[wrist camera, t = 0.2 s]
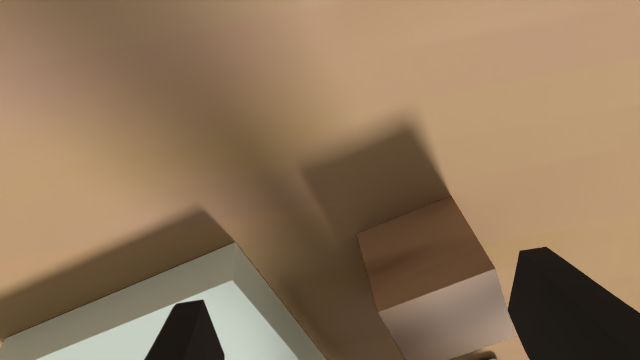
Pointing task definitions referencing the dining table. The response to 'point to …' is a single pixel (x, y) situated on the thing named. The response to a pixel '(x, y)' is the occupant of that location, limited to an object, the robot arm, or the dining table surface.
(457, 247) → the walnut cube
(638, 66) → the dining table surface
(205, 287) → the base
